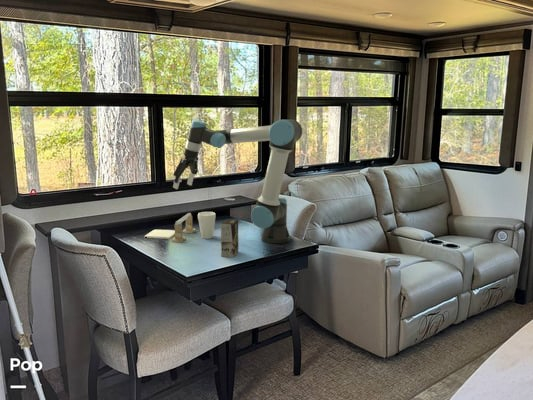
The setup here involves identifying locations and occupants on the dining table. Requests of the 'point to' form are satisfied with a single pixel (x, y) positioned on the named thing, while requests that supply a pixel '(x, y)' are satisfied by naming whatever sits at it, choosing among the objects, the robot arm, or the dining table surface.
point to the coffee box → (229, 238)
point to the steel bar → (183, 218)
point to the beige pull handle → (178, 230)
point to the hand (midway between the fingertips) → (182, 186)
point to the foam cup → (206, 224)
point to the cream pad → (161, 234)
